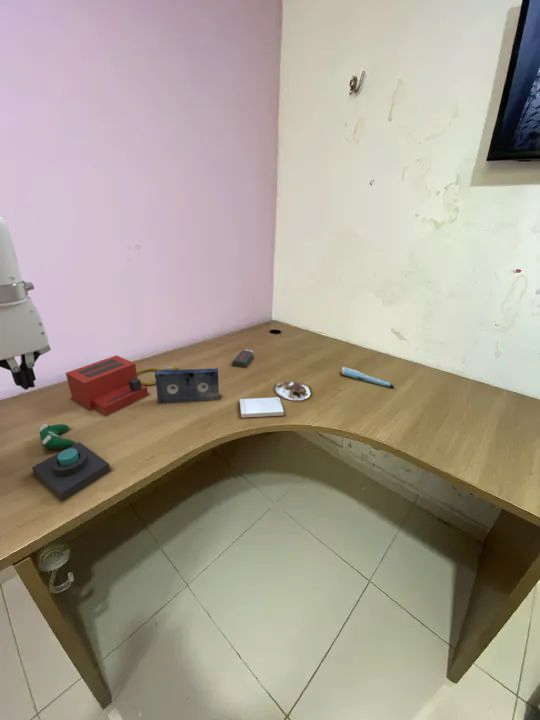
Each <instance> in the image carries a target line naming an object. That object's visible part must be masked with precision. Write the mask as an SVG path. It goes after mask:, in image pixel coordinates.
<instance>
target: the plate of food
mask: <svg viewBox="0 0 540 720" xmlns="http://www.w3.org/2000/svg"><path fill="white" fill-rule="evenodd" d="M274 391H275V393H276V395H277V396H279V398H282V399H284V400H289V401H304V400H306V399H309V398H310V396H311V391H310V388H309V386H308V385H306V384H304V383H303V381H279V382H278V383H277V384H275V388H274Z"/></svg>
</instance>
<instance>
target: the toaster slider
mask: <svg viewBox="0 0 540 720" xmlns="http://www.w3.org/2000/svg"><path fill="white" fill-rule="evenodd" d="M137 378H138V377H137ZM137 378H134V379H132V380H129V386H130V389H131V390H133V391H137V390H140V389H142V387H141V383H142V382H141V379H139V378H138V379H137Z"/></svg>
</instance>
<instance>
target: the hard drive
mask: <svg viewBox="0 0 540 720" xmlns="http://www.w3.org/2000/svg"><path fill="white" fill-rule="evenodd" d="M280 398H281V397H280V396H279V397H278V396H277V397H254V398H240V399H239V409H240V418H242V419H243V418H259V417H261V418H262V417H263V418H264V417H278V416H279V417H281V416H284V415H285V411H284V409H283V404H282V402H281V399H280Z"/></svg>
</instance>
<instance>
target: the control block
mask: <svg viewBox="0 0 540 720" xmlns="http://www.w3.org/2000/svg"><path fill="white" fill-rule="evenodd" d="M70 448H74V449H76V450H77V452H78V455H79V459H78V461H77V462H75V463H73V464H72V465H68V466H61V465H60V464H59V461H58V454H59V453H60V452H58V453H56V454H54V455H52V456H50V457H48V458H46V459H44V460H43V461H41V462H39V463H37V464H35V465H33V466H31V468H32V472H33V474H34V476H36V478H37V479H39V480H40V481H41V483H43V484H44V485H45V486H46V487H47V488H48V489H49V490H50V491H51V492H52V493H54V495H55V496H57V498H58V499H59V500H61V501H62V502H65V501H66V500H68V499H69V498H71V497H72V496H74V495H75V494H77V493H78V492H80V491H81V490H83V489H84V488H86V487H87V486H89V485H91V484H92V483H93V482H96V481H98V479H101V478H102V477H103V476H104V475H107V474H108V473H109V472H111V468H110V464H109V462H107V461H106V460H105V459H104V458H103V457H101V456H99V455H98V454H97V453H96V452H94V451H92V450H91V449H90V448H88V447H87V446H86V445H85V444H83V443H81V441H79V442H77V443H74V445H73V446H71V447H69V448H66V449H70Z"/></svg>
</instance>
